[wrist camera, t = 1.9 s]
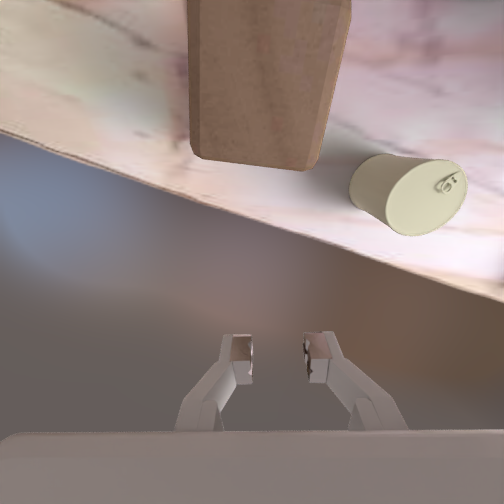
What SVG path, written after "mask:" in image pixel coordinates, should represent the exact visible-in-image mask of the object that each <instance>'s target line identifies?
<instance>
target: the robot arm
mask: <svg viewBox="0 0 504 504" xmlns="http://www.w3.org/2000/svg"><path fill="white" fill-rule="evenodd" d="M303 339H304V343H303V355H304V361H305V363H307V375H308V379H309V383H326V384H327V385H328V386H329V388H330V389H331V390H332V391H333V393H334V394H335V395H336V396H337V397H338V399H339V400H340V401H341V402H342V404H343V405H344V406H345V407H346V408H347V410H348V411H349V412H350V413H351V419H350V423H349V426H348V431H224V428H223V424H222V420H221V416H220V412H221V410H222V409H223V407H224V405H225V404H226V402H227V400H228V399H229V397H230V396H231V394H232V392H233V391H234V389H235V387H236V385H241V384H253V368H252V364H253V345H252V336H251V334H249V335H248V334H247V335H224V336H223V340H222V345H221V351H220V357H219V362H216V363H215V364H214V365H213V366H212V367H211V368H210V369H209V370H208V372H207V373H206V374H205V375H204V376H203V377H202V379H201V380H200V381H199V382H198V383H197V384H196V385H195V387H194V388H193V389H192V390H191V391H190V392H189V394H188V395H187V396H186V397H185V398H184V399H183V402H182V405H181V408H180V412H179V415H178V419H177V422H176V426H175V429H174V432H60V433H57V432H55V433H54V432H53V433H51V432H49V433H17V434H14V435H11V436H9V437H8V438H6V439H4V440H3V441H1V442H0V504H504V430H409V429H408V427H407V425H406V423H405V421H404V419H403V417H402V416H401V414H400V412H399V410H398V408H397V406H396V404H395V402H394V400H393V398H392V397H391V396H390V395H389V394H388V393H386V392H385V391H384V390H383V389H382V388H381V387H380V386H378V385H377V384H376V383H375V382H374V381H373V380H371V379H370V378H369V377H368V376H367V375H365V374H364V373H363V372H362V371H361V370H360V369H358V368H357V367H356V366H355V365H354V364H353V363H352V362H350V361H349V360H348V359H344V357H343V354H342V352H341V349H340V347H339V345H338V342H337V340H336V337H335V335H334V333H333V332H304V334H303Z"/></svg>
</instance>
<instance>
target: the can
mask: <svg viewBox="0 0 504 504" xmlns="http://www.w3.org/2000/svg"><path fill="white" fill-rule="evenodd" d="M467 189H468V182H467V177H466V174H465V172H464V170H463V169H462V168H461V167H460V166H459V165H458V164H456V163H454V162H452V161H449V160H443V159H436V160H433V159H420V158H410V157H400V156H395V155H392V154H379V155H376V156H373V157H371V158H369V159H367V160H366V161H364V162H363V163H362V164H361V165H360V166H359V167H358V168H357V169H356V171H355V172H354V174H353V176H352V178H351V181H350V185H349V195H350V198H351V201H352V202H353V204H354V205H355V206H356V207H358V208H359V209H361V210H364V211H366V212H367V213H369V214H371V215H372V216H374V217H375V218H377V219H378V220H380V221H381V222H383V223H384V224H386V225H387V226H389V227H390V228H391V229H392V230H394V231H395V232H397V233H399V234H401V235H405V236H420V235H424V234H427V233H430V232H432V231H435V230H437V229H438V228H440V227H442V226H443V225H445V224H446V223H447V222H448V221H449V220H451V219H452V218H453V216H454V215H455V214H456V213H457V212H458V210H459V209H460V208H461V206H462V204H463V202H464V200H465V197H466V194H467Z"/></svg>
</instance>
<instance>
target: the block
mask: <svg viewBox="0 0 504 504" xmlns="http://www.w3.org/2000/svg"><path fill="white" fill-rule="evenodd" d="M187 13H188V66H189V119H190V145H191V148H192V150H193V153H194V154H195V155H197V156H198V157H200V158H202V159H206V160H214V161H222V162H230V163H238V164H246V165H254V166H262V167H270V168H278V169H286V170H294V171H306V170H309V169H312V168H313V167H314V165H315V163H316V162H317V160H318V157H319V153H320V149H321V145H322V140H323V136H324V132H325V128H326V123H327V119H328V115H329V111H330V106H331V102H332V98H333V94H334V89H335V85H336V81H337V77H338V72H339V68H340V64H341V60H342V55H343V51H344V47H345V43H346V39H347V34H348V30H349V26H350V22H351V0H187Z"/></svg>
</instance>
